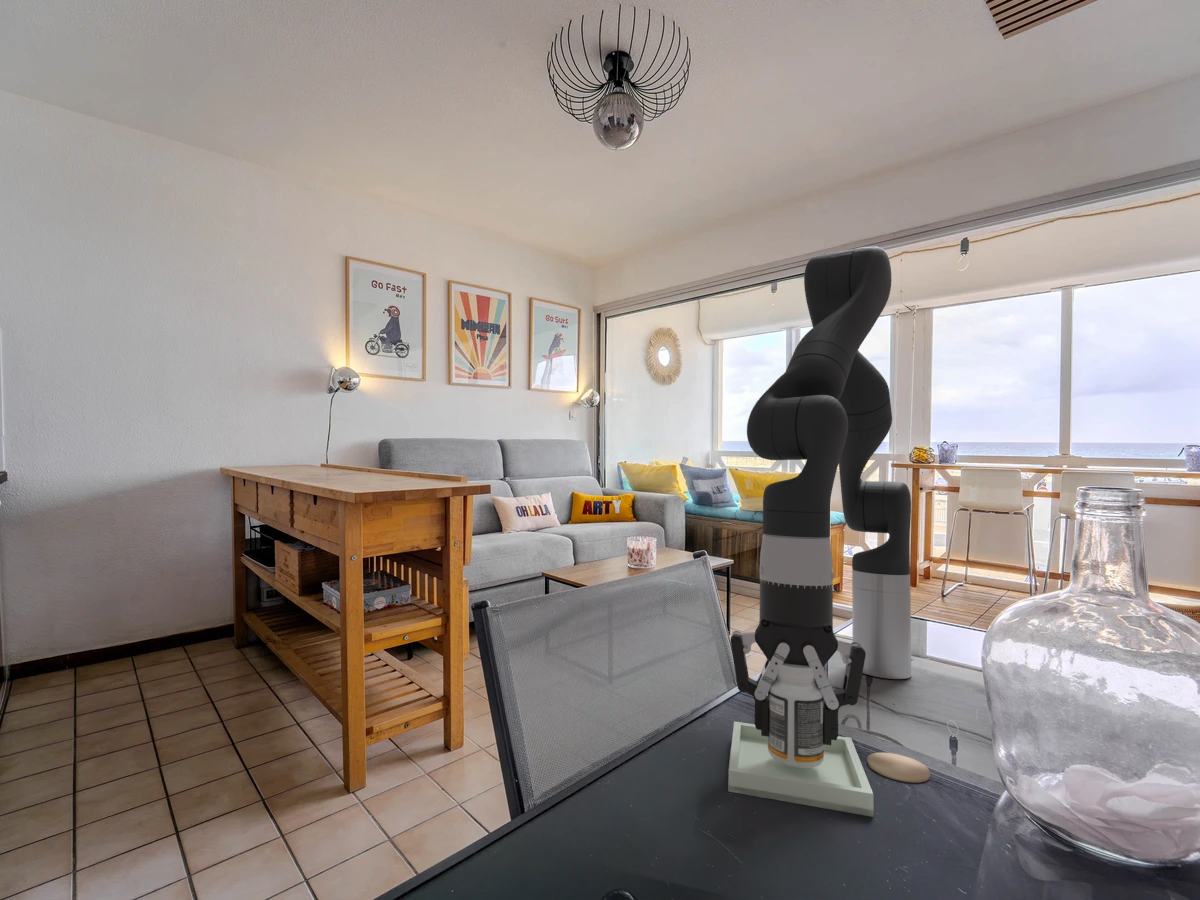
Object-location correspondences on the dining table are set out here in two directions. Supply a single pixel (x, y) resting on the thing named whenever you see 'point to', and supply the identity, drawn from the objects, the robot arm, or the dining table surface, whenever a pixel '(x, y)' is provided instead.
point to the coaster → (898, 767)
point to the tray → (799, 774)
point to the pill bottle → (796, 718)
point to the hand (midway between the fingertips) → (794, 737)
